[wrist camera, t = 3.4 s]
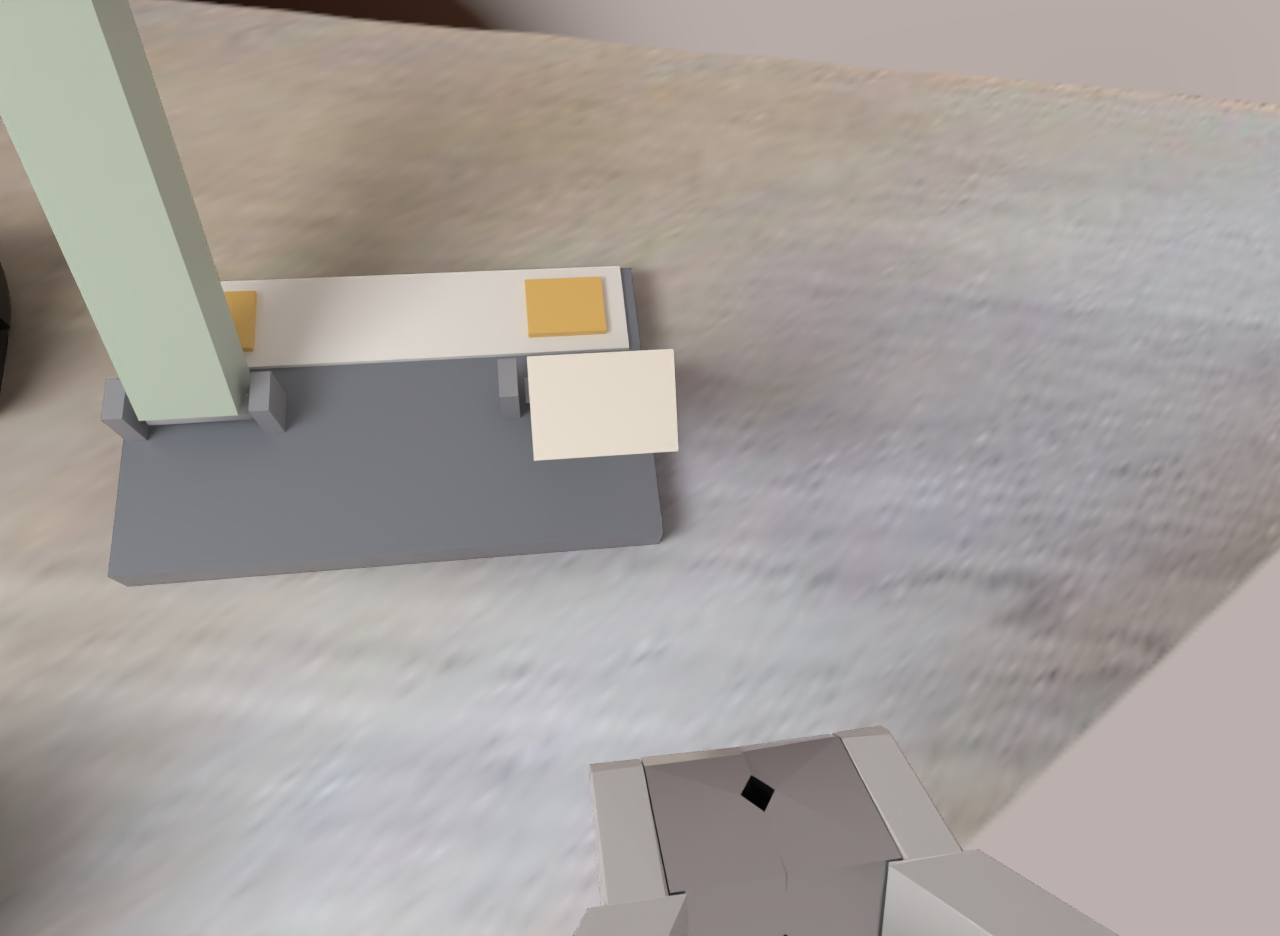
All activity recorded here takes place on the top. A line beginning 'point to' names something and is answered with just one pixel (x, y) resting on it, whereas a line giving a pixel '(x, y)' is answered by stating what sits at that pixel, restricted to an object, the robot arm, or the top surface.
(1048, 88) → the top surface
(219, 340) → the bar
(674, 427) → the bar
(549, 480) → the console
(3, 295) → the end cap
